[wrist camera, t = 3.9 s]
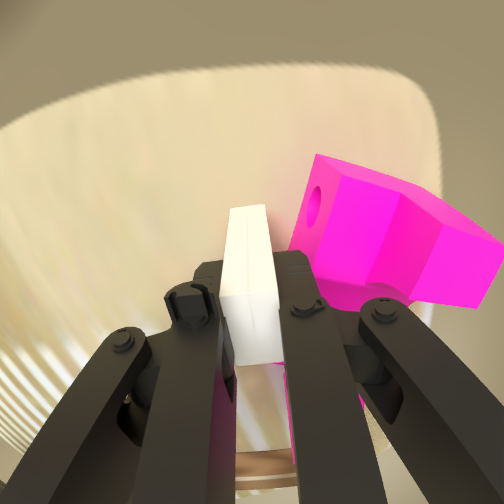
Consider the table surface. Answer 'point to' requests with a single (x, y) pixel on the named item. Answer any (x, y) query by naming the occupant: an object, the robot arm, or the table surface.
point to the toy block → (388, 242)
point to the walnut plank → (265, 470)
